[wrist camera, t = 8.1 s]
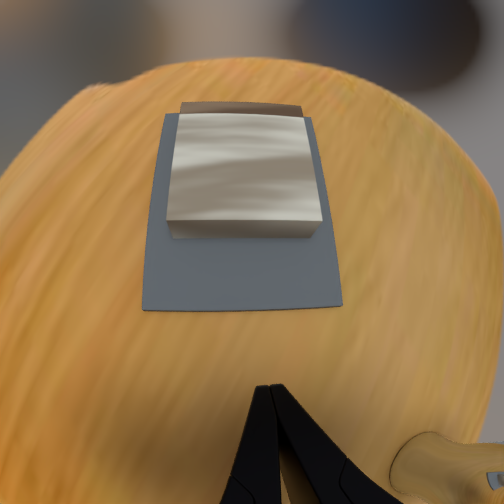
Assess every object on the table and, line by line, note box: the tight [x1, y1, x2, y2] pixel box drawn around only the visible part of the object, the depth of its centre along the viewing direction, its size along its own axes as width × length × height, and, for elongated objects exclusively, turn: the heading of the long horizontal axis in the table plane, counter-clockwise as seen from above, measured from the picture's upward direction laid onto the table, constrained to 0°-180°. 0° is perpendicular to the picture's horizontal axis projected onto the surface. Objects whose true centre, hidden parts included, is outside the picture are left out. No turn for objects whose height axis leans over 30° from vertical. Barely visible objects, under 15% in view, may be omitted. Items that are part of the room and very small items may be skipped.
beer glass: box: [390, 432, 504, 504], centre depth 9 cm, size 7×7×15 cm
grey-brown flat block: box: [166, 102, 323, 239], centre depth 21 cm, size 3×10×11 cm
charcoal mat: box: [142, 113, 343, 312], centre depth 23 cm, size 18×14×1 cm
